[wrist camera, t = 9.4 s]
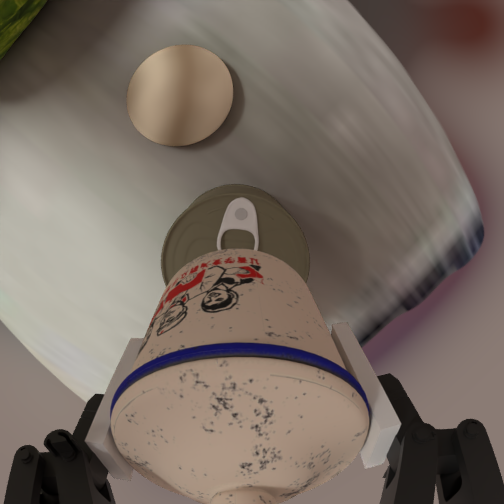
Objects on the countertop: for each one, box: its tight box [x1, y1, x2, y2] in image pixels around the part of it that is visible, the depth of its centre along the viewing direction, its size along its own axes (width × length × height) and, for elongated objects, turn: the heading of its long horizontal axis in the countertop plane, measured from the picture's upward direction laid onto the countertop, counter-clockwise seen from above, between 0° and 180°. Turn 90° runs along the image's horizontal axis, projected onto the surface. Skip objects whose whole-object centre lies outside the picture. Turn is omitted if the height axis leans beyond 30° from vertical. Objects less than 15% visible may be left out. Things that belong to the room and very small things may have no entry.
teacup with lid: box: [110, 249, 369, 504], centre depth 12 cm, size 12×9×12 cm
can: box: [161, 184, 310, 287], centre depth 27 cm, size 12×12×7 cm
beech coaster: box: [127, 45, 233, 146], centre depth 25 cm, size 10×10×1 cm
